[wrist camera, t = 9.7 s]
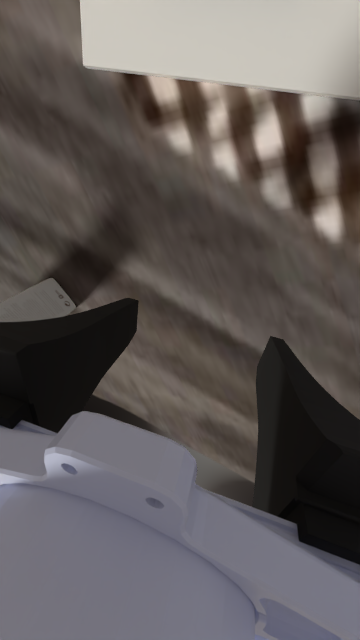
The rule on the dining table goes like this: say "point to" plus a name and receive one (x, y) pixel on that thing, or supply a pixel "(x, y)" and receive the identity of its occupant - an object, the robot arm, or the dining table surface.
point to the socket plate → (229, 42)
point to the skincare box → (37, 303)
